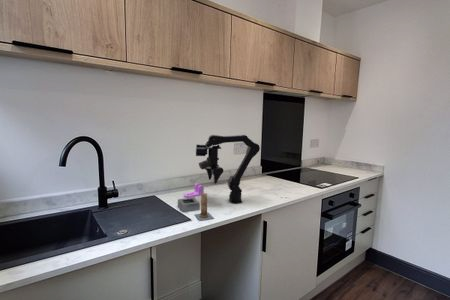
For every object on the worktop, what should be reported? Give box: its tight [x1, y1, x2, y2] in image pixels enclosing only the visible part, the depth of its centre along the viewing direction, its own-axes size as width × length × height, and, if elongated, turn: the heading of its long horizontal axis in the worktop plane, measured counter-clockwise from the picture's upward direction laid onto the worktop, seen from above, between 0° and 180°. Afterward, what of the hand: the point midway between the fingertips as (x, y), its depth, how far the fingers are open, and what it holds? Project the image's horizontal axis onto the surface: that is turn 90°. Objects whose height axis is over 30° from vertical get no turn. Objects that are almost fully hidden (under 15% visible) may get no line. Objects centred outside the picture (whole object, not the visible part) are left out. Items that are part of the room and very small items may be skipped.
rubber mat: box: [194, 211, 215, 222], centre depth 127 cm, size 8×8×1 cm
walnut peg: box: [199, 192, 209, 218], centre depth 126 cm, size 5×5×12 cm
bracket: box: [183, 182, 205, 199], centre depth 160 cm, size 13×6×7 cm, turn 128°
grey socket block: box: [177, 197, 201, 213], centre depth 138 cm, size 10×10×4 cm
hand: (212, 181), depth 147 cm, fingers open, 9 cm apart
